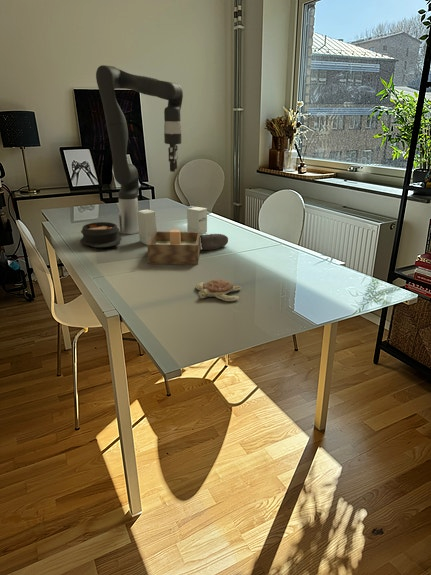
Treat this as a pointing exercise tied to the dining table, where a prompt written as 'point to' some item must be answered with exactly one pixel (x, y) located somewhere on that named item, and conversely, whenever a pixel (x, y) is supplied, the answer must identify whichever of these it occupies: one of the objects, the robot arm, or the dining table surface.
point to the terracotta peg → (175, 237)
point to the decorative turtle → (217, 290)
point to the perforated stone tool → (213, 241)
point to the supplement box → (197, 220)
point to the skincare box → (146, 225)
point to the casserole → (100, 234)
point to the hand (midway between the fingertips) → (173, 170)
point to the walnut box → (174, 248)
